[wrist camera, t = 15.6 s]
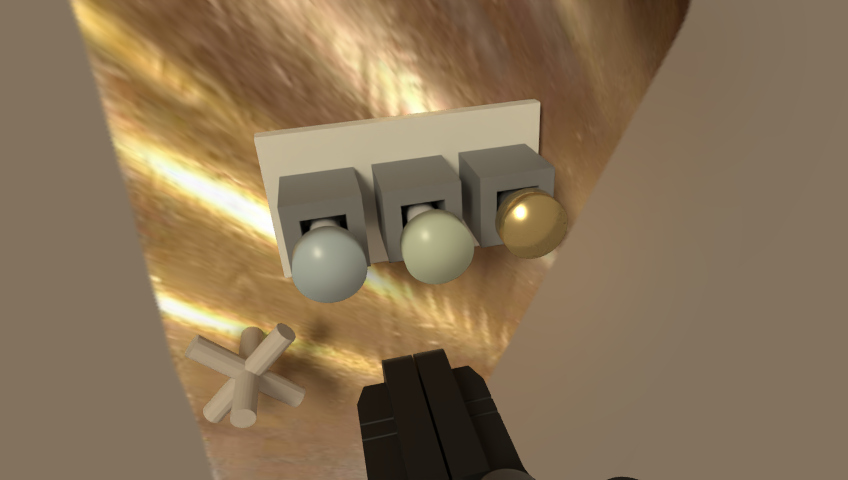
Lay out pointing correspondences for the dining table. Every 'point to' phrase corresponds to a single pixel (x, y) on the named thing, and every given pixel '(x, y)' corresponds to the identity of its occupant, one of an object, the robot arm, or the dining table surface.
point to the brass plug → (529, 222)
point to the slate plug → (328, 262)
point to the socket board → (401, 172)
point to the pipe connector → (246, 374)
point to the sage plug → (434, 244)
